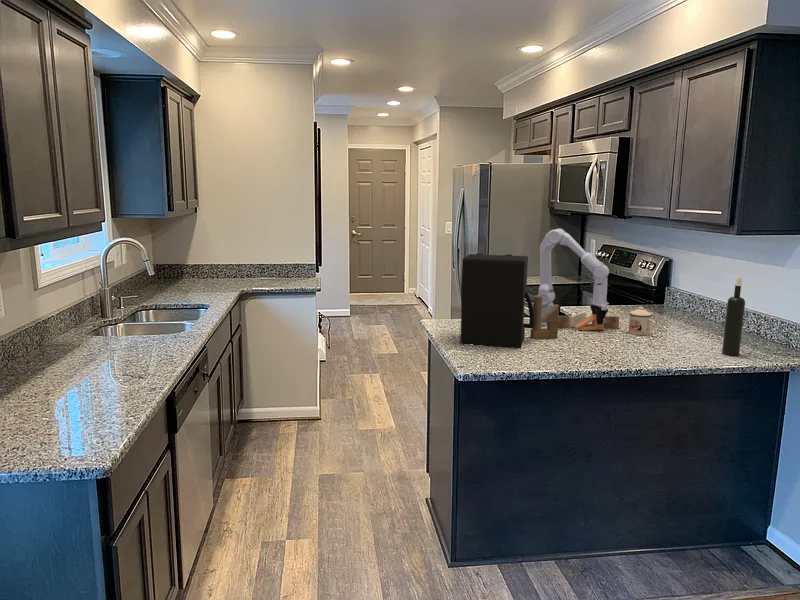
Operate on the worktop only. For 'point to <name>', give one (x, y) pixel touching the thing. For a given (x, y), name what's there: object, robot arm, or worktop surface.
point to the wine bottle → (734, 321)
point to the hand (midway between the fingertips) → (598, 322)
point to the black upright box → (494, 300)
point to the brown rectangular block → (608, 322)
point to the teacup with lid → (640, 322)
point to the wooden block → (544, 320)
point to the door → (577, 318)
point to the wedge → (585, 326)
